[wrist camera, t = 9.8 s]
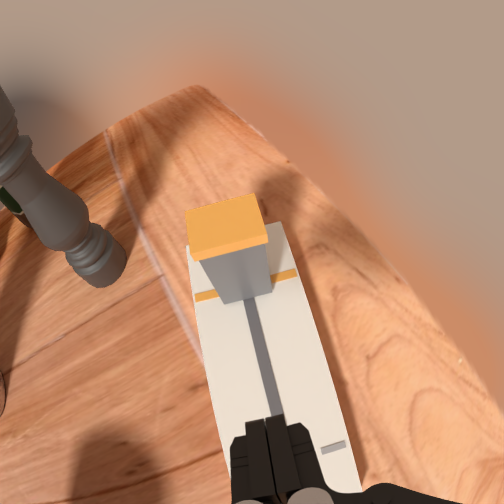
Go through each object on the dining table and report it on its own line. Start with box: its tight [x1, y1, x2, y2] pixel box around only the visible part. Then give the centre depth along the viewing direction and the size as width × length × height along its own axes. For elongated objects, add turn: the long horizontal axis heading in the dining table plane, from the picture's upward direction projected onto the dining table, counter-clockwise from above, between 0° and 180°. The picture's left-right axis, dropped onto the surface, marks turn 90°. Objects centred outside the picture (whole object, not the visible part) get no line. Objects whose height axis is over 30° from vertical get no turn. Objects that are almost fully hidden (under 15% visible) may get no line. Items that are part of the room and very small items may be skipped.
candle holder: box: [0, 86, 127, 288], centre depth 23 cm, size 6×6×25 cm
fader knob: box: [185, 193, 272, 305], centre depth 23 cm, size 3×5×10 cm
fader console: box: [186, 221, 362, 493], centre depth 25 cm, size 28×10×3 cm, turn 13°
